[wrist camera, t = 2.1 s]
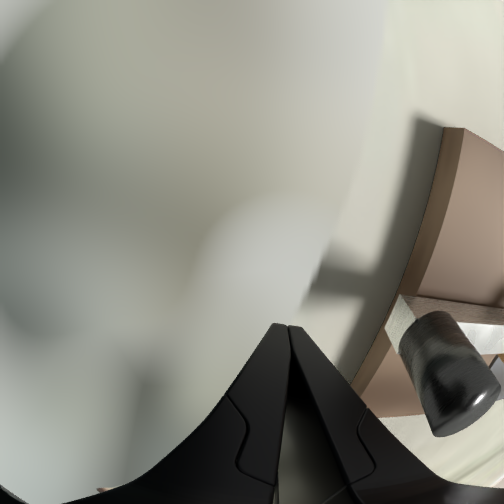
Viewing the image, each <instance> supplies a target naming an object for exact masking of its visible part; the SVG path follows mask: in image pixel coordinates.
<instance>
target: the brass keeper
mask: <svg viewBox="0 0 504 504" xmlns="http://www.w3.org/2000/svg"><path fill="white" fill-rule="evenodd" d="M497 355H498V357H499V358H500V359H501V361H502V362H503V363H504V353H501V354H497Z"/></svg>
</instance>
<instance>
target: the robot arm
mask: <svg viewBox="0 0 504 504" xmlns="http://www.w3.org/2000/svg"><path fill="white" fill-rule="evenodd" d="M0 504H28V503H26V502H25V501H23V500H22V499H20V498H19V497H17V496H16V495H14V494H13V493H11V492H10V491H8V490H7V489H5V488H4V487H3V486H2V485H0ZM63 504H504V488H490V487H480V486H472V485H464V484H458V483H453V482H450V481H447V480H445V479H443V478H441V477H439V476H438V475H436V474H435V473H434V472H432V471H431V470H430V469H429V468H428V467H427V466H426V465H424V464H423V463H422V462H421V461H420V460H419V459H418V458H417V457H416V456H415V455H414V454H413V453H411V452H410V451H409V450H408V449H407V448H406V447H405V446H404V445H403V444H402V443H401V442H400V441H399V440H398V439H397V438H396V437H395V436H394V435H393V434H392V433H391V432H390V431H389V430H388V429H387V428H386V427H385V426H384V425H383V424H382V422H381V421H380V420H379V419H378V418H377V417H376V416H375V414H374V413H373V412H372V411H371V410H370V408H367V405H366V404H365V403H364V401H363V400H362V399H361V398H360V397H359V395H358V394H357V393H356V392H355V391H354V389H353V388H352V387H351V386H350V385H349V383H348V382H347V381H346V380H345V379H344V377H343V376H342V375H341V374H340V373H339V371H338V370H337V369H336V368H335V367H334V365H333V364H332V363H331V362H330V361H329V359H328V358H327V357H326V356H325V355H324V353H323V352H322V351H321V350H320V348H319V347H318V346H317V345H316V344H315V342H314V341H313V340H312V339H311V338H310V336H309V335H308V334H307V333H306V331H305V330H304V329H303V328H302V327H298V326H291V325H289V326H286V325H284V324H278V323H273V324H272V325H271V326H270V328H269V329H268V331H267V332H266V334H265V336H264V337H263V338H262V340H261V341H260V343H259V345H258V346H257V347H256V349H255V351H254V352H253V353H252V355H251V356H250V358H249V359H248V361H247V362H246V364H245V365H244V367H243V368H242V370H241V371H240V372H239V374H238V375H237V377H236V379H235V380H234V381H233V383H232V384H231V385H230V387H229V388H228V390H227V391H226V392H225V394H224V396H222V398H221V399H220V400H219V402H218V403H217V405H216V406H215V407H214V408H213V410H212V411H211V412H210V413H209V415H208V416H207V417H206V418H205V420H204V421H203V422H202V423H201V424H200V425H199V426H198V427H197V428H196V429H195V430H194V431H193V432H192V433H191V434H190V435H189V436H188V437H187V438H186V439H185V440H183V442H181V443H180V444H179V445H178V446H177V447H176V448H175V449H173V450H172V451H171V452H170V453H169V454H168V455H167V456H166V457H164V458H163V459H162V460H161V461H160V462H159V463H158V464H156V465H155V466H154V467H153V468H152V469H150V470H149V471H148V472H146V473H145V474H143V475H142V476H140V477H138V478H137V479H135V480H134V481H131V482H129V483H127V484H125V485H122V486H119V487H116V488H113V489H111V490H108V491H105V492H102V493H98V494H96V495H92V496H89V497H85V498H82V499H78V500H74V501H71V502H67V503H63Z"/></svg>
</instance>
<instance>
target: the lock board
mask: <svg viewBox="0 0 504 504" xmlns="http://www.w3.org/2000/svg"><path fill="white" fill-rule="evenodd" d="M400 294H403V295H409V296H416V297H423V298H429V299H436V300H443V301H450V302H457V303H464V304H471V305H479V306H486V307H493V308H501V309H504V152H503V151H502V150H500V149H499V148H497V147H496V146H494V145H493V144H491V143H489V142H488V141H486V140H484V139H483V138H481V137H479V136H478V135H476V134H474V133H472V132H471V131H469V130H467V129H465V128H450V127H444V131H443V137H442V142H441V148H440V153H439V158H438V163H437V167H436V172H435V176H434V180H433V184H432V188H431V192H430V196H429V200H428V203H427V207H426V210H425V214H424V217H423V220H422V224H421V227H420V230H419V233H418V236H417V239H416V242H415V245H414V248H413V251H412V254H411V257H410V259H409V262H408V265H407V267H406V270H405V273H404V275H403V278H402V280H401V283H400V285H399V288H398V290H397V293H396V295H395V297H394V300H393V302H392V304H391V306H390V309H389V311H388V313H387V315H386V318H385V320H384V322H383V324H382V326H381V328H380V330H379V332H378V334H377V336H376V338H375V340H374V342H373V344H372V346H371V348H370V350H369V352H368V354H367V356H366V358H365V360H364V361H363V363H362V365H361V367H360V369H359V371H358V372H357V374H356V376H355V378H354V379H353V381H352V383H351V385H350V386H351V387H352V388H353V389H354V391H355V392H356V393H357V394H358V395H359V397H360V398H361V399H362V400H363V401H364V403H365V404H366V405H367V408H370V410H371V411H372V412H373V413H374V414H375V416H376V417H377V418H382V417H398V416H410V415H420V414H425V413H424V410H423V408H422V405H421V403H420V400H419V398H418V396H417V393H416V391H415V388H414V386H413V384H412V382H411V379H410V377H409V375H408V373H407V370H406V368H405V366H404V364H403V362H402V359H401V357H400V355H399V354H397V353H396V351H395V349H394V347H393V345H392V343H391V341H390V339H389V337H388V334H387V332H386V330H385V326H386V323H387V321H388V319H389V317H390V315H391V313H392V311H393V308H394V306H395V304H396V302H397V299H398V297H399V295H400ZM481 356H482V358H483V359H484V361H485V362H486V364H487V365H488V366H489V368H490V369H491V371H492V372H493V374H494V376H495V377H496V379H497V380H498V382H499V383H500V385H501V392H500V394H499V396H498V398H497V400H501V399H504V363H503V362H502V361H501V359H500V358H499V357H498V355H497V354H483V355H481ZM497 400H496V401H497Z"/></svg>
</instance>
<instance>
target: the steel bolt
mask: <svg viewBox="0 0 504 504" xmlns="http://www.w3.org/2000/svg"><path fill="white" fill-rule="evenodd" d="M385 330H386V332H387V334H388V337H389V339H390V341H391V343H392V345H393V347H394V349H395V351H396V353H397V354H399V355H400V357H401V359H402V362H403V364H404V366H405V368H406V370H407V373H408V375H409V377H410V379H411V382H412V384H413V386H414V388H415V391H416V393H417V396H418V398H419V400H420V403H421V405H422V408H423V410H424V413H425V415H426V418H427V420H428V423H429V425H430V428H431V431H432V433H433V435H434V436H435V437H446V436H449V435H452V434H455V433H457V432H459V431H461V430H463V429H465V428H466V427H468V426H470V425H471V424H473V423H474V422H475V421H477V420H478V419H479V418H480V417H481V416H483V415H484V414H485V413H486V412H487V411H488V410H489V409H490V408H491V406H492V405H493V404H494V403H495V401H496V400H497V398H498V396H499V394H500V392H501V385H500V383H499V382H498V380H497V379H496V377H495V376H494V374H493V372H492V371H491V369H490V368H489V366H488V365H487V364H486V362H485V361H484V359H483V358H482V356H481V355H483V354H501V353H504V309H501V308H493V307H486V306H479V305H471V304H464V303H457V302H450V301H443V300H436V299H429V298H423V297H416V296H409V295H403V294H400V295H399V297H398V299H397V302H396V304H395V306H394V308H393V311H392V313H391V315H390V317H389V319H388V321H387V323H386V326H385Z"/></svg>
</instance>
